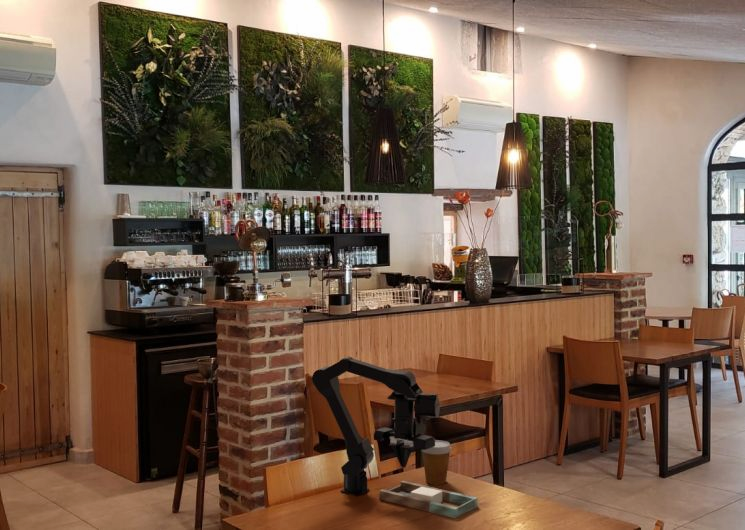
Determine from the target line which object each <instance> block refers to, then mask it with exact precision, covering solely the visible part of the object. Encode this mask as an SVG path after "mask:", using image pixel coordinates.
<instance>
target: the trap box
mask: <svg viewBox="0 0 745 530" xmlns="http://www.w3.org/2000/svg"><path fill="white" fill-rule="evenodd" d="M399 482H400V484H399V485H397V486H395V487H393V488H390V489H388V490H387V489H380V490H379V500H381V501H386V502H389V503H394V504H396V505H401V506H406V507H409V508H414V509H418V510H422V511H424V512H428V513H432V514H437V515H440V516H445V517H449V518H452V519H457V518H459V517H461V516H463V515H464V514H466V513H468V512H470V511H472V510H473V509H475V508H478V504H479V503H478V502H479V501H478V500H479V499H478V497H475V496H471V495H466V494H462V493H458V492H455V491H449V490H446V489H440V488H437V487H432V486H430V485H429V486H428V485H424V484H419V483H417V482H415V483H414V482H412V481H411V482H410V481H406V480H401V481H399ZM420 487H426V488H431V489H435V490H440V491H442V501H445V502H448V501H449V502H450V503H452V502H453V503H452V504H457V505H459V506H451V505H449V504H444V503H436V502H432V501H428V500H424V499H420V498H416V497H412V496H411V492H412V491H414V490H416V489H418V488H420Z"/></svg>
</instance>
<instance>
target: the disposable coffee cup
mask: <svg viewBox="0 0 745 530" xmlns="http://www.w3.org/2000/svg"><path fill="white" fill-rule="evenodd" d="M451 450H452V446H451V443H450V442H449V441H446V440H438V439H435V446H434V447H432V448H429V449H426V450H421V452H422V460H423V467H424V477H425V482H426V483H427V484H429V483H430V485H435V484H438V485H443V483H444V484H445V482H446V483H447V477H448V470H449V469H448V467H449V461H450V452H451Z"/></svg>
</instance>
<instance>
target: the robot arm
mask: <svg viewBox="0 0 745 530" xmlns="http://www.w3.org/2000/svg"><path fill="white" fill-rule="evenodd" d="M345 373H350V374H354V375H357V376H359V377H363V378H365V379H369V380H372V381H375V382H379V383H382V385H384V386H386V387H387V388H388V389H390V390H391V394H389V396H387V400H391V401H392V400H394V401H393V402H394V412H393V413H394V415H393V416H394V417H393V418H391V423H394V424H393V425H394V426H393V428H394V429H393V428H391V427H386V426H384V427H381V428H378V429H375V430H374V432H373V437H372V439H373V440H374V441H376V442H377V441H378V442H383V440H384V439H389V441H390V442H389V443H388V446H389V447H391V449H392V451H393V452H394V454H395V457H396V458H397V460H398V463H399V466H400V467H401V468H406V466H407V465H408V462H409V458H410V457H411V453H412V451H413V450H414V449H415V450H416V449H417V450H421V451H422V450H426V449H429V448H432V447H434V446H435V440H436V439H435V438H434V436H431V435H426V434H425V430H426V424H423V423H419V422H417V421H418V420H417V417H415V415H417V416H418V417H423V418H424V417H427V418H437V419H438V418H439V415H440V410H441V403H440V398H439V395H438V393H424V392H423V390H422V389H421V387H420V386H419V384H418V383H417V379H416V376H415V375H414V373H413V372H412V371H409V370H404V369H403V370H402V369H389V368H385V367H381V366H378V365H376V364H375V365H374V364H371V363H369V362H365V361H361V360H359V359H355V358H353V357H351V356H345V357H343V358H341V359H340V360H339V361H338V362H336V363H334V364H332V365H330V366H329V365H327V366H323V367H321V368H318V369H317V370H315V371H314V372H313V374H312V377H311V382H312V384H313V386H314V387H315V389H316V391H317V392H318V393H319V394H320V395H321V396H322V397H323V398H324V399H325V400H326V403H327V404H328V406H329V408H330V411H331V413H332V416H333V417H334V420H335V421H336V424H337V426H338V428H339V431H340V433H341V434H342V437H343V439H344V442H345V451H346V456H347V460H348V461H346V462H345V463H344V464H343V465H342V466H341V471H342V474H343V488H342V489H340V492H341V493H344V494H348V495H352V496H360V495H362V494H365V493H367V492H369V491H370V488H368V477H367V471H365V469H367V468H368V466H369V464H370V463H372V461H373V459H374V456H375V455H374V454H375V452H374V451H375V448H374V447H373V446H372V444H371V442H370V438H369V437H366V438H365V439H364V438H363V437H362V436H361V435H360V433H359V430H358V429H357V427H356V424H355V422H354V420H353V418H352V414H351V413H350V412H349V410H348V407H347V405H346V403H345V401H344V399H343V397H342V394H341V389H340V380H339V376H342V375H343V374H345ZM418 435H419V436H418ZM416 436H417V437H416Z"/></svg>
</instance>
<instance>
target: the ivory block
mask: <svg viewBox="0 0 745 530" xmlns="http://www.w3.org/2000/svg"><path fill="white" fill-rule="evenodd" d="M411 496H412V497H416V498H420V499H424V500H428V501H432V502H436V503H440V504H442V503H443V500H442V491H440V490H435V489H431V488H426V487H420V488H418V489H416V490H414V491H412V492H411ZM441 502H442V503H441Z"/></svg>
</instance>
